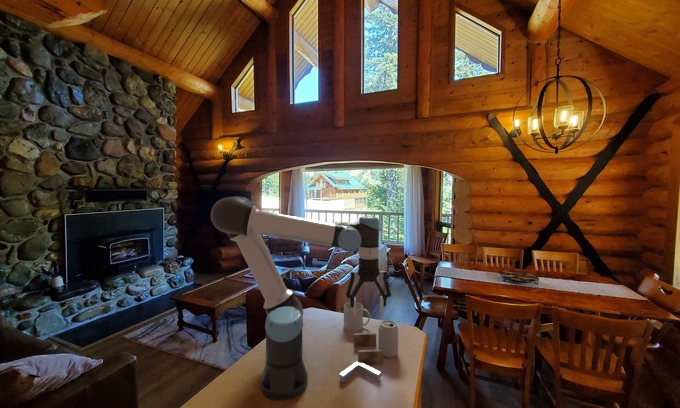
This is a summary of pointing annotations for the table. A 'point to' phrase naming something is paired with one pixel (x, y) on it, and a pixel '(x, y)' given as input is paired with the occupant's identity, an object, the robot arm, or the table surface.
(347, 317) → the mug
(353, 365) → the v block
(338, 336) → the table surface
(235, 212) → the robot arm
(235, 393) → the table surface
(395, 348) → the can
